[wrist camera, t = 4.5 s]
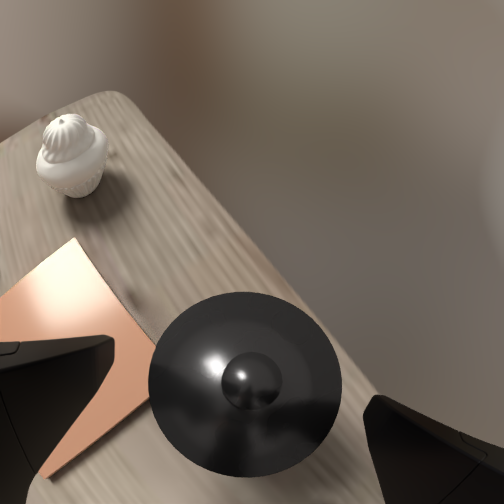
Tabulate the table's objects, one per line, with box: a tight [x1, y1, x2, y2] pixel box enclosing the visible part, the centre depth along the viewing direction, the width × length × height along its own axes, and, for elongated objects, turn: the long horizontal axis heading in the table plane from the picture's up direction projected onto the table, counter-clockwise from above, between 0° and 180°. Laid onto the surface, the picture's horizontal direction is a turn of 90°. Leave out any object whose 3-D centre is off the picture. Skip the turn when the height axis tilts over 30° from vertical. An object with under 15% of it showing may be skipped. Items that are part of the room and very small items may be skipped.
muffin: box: [36, 114, 108, 198], centre depth 20 cm, size 6×6×7 cm
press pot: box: [148, 292, 342, 478], centre depth 12 cm, size 6×6×10 cm
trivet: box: [0, 238, 156, 479], centre depth 15 cm, size 12×12×1 cm
